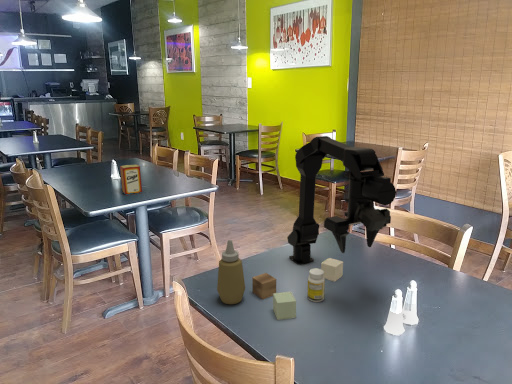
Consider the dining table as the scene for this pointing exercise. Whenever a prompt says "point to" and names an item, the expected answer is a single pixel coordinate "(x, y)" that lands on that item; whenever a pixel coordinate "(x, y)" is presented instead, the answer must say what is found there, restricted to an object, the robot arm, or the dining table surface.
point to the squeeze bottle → (230, 276)
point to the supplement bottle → (316, 285)
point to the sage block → (284, 305)
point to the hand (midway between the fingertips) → (356, 249)
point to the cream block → (332, 269)
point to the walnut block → (264, 285)
